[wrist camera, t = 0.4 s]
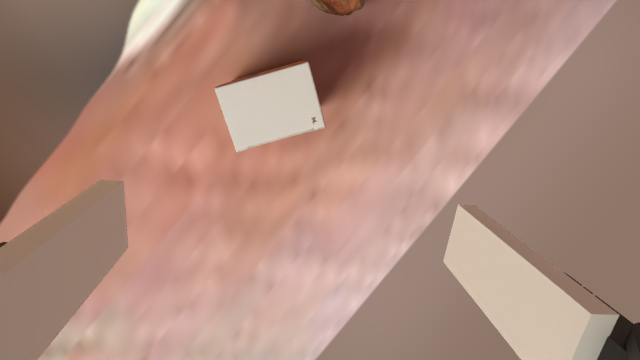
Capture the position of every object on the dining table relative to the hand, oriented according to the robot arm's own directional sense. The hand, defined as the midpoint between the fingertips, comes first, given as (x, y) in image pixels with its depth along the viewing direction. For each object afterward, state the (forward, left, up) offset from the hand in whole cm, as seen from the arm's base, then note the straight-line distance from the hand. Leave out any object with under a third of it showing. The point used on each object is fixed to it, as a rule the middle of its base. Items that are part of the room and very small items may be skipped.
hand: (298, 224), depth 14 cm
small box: (-3, -1, -27) cm, 27 cm away
